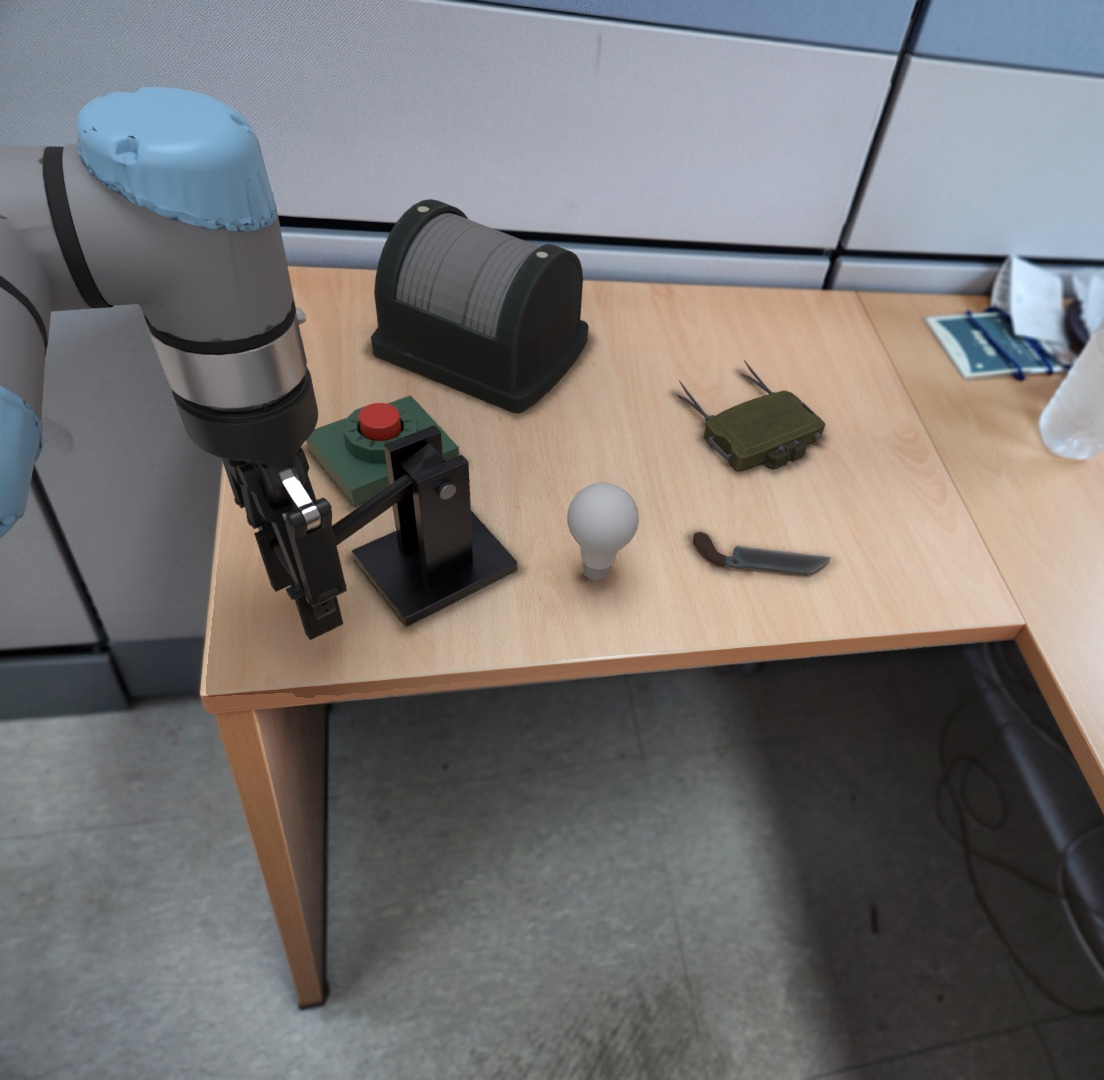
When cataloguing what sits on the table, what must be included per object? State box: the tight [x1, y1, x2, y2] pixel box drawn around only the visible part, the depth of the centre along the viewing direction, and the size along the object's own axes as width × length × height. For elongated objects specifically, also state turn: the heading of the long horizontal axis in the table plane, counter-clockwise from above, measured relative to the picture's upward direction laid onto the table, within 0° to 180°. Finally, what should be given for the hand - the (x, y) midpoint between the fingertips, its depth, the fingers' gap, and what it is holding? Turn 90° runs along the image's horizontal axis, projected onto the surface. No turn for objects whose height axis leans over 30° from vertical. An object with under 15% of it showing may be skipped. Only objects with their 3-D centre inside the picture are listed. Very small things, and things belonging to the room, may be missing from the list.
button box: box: [305, 395, 460, 507], centre depth 82 cm, size 11×9×4 cm
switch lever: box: [270, 443, 445, 580], centre depth 66 cm, size 14×5×2 cm, turn 133°
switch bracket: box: [351, 425, 518, 627], centre depth 71 cm, size 11×9×14 cm
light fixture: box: [370, 198, 590, 414], centre depth 92 cm, size 17×14×20 cm
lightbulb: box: [566, 482, 640, 582], centre depth 75 cm, size 6×6×11 cm
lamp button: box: [359, 402, 401, 441], centre depth 80 cm, size 4×4×2 cm
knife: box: [692, 531, 832, 576], centre depth 84 cm, size 14×4×1 cm, turn 90°
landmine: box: [677, 359, 826, 472], centre depth 96 cm, size 14×3×15 cm
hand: (307, 604), depth 68 cm, fingers closed on switch lever, 5 cm apart
